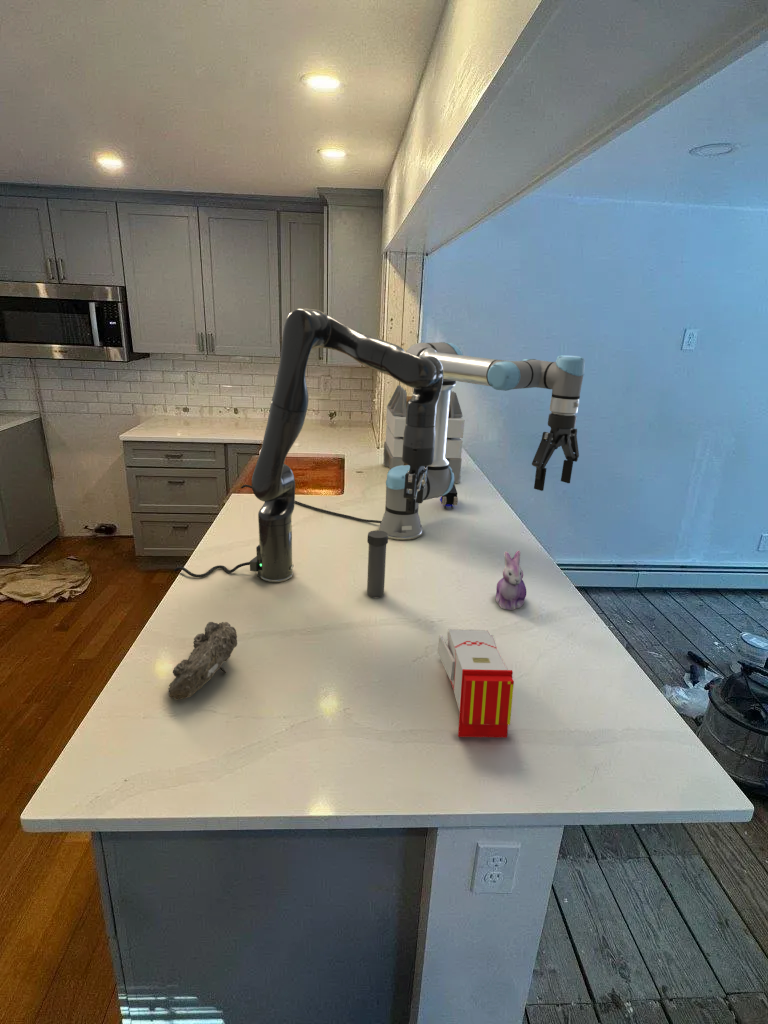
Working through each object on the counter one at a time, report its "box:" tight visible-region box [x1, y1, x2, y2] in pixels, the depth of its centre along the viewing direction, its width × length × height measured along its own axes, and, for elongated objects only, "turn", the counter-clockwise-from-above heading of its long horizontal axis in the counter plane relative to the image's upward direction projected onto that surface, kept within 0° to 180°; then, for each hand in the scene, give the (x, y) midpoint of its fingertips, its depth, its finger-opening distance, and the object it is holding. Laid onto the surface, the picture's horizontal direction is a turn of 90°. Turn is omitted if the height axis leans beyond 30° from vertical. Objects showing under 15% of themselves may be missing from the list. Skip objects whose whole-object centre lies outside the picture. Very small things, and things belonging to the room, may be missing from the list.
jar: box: [366, 543, 387, 599], centre depth 154 cm, size 5×5×18 cm
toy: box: [437, 628, 515, 738], centre depth 117 cm, size 12×13×30 cm
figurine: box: [495, 550, 527, 611], centre depth 153 cm, size 9×10×15 cm
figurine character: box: [439, 483, 459, 510], centre depth 230 cm, size 7×8×15 cm
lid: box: [367, 529, 389, 546], centre depth 152 cm, size 6×6×2 cm
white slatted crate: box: [383, 384, 465, 484], centre depth 268 cm, size 34×33×41 cm
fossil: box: [167, 621, 238, 701], centre depth 119 cm, size 22×10×15 cm
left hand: (414, 507), depth 140 cm, fingers open, 8 cm apart
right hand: (552, 485), depth 166 cm, fingers open, 13 cm apart
